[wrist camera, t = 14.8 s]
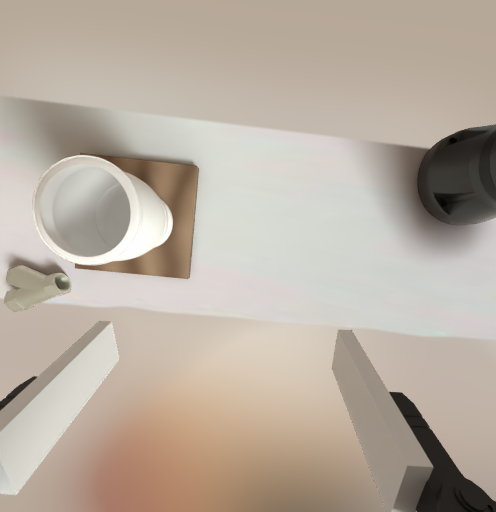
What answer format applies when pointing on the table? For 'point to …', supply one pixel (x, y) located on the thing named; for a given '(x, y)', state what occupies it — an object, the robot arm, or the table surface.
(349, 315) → the table surface
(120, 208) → the jar
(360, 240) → the table surface
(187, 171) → the walnut board
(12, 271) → the pipe fitting
